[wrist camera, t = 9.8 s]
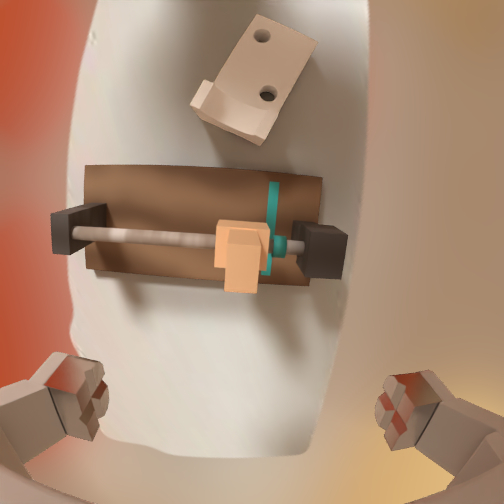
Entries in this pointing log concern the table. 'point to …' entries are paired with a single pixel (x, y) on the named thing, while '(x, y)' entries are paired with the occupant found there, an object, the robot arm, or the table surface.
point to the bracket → (254, 80)
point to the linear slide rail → (197, 222)
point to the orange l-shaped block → (241, 253)
